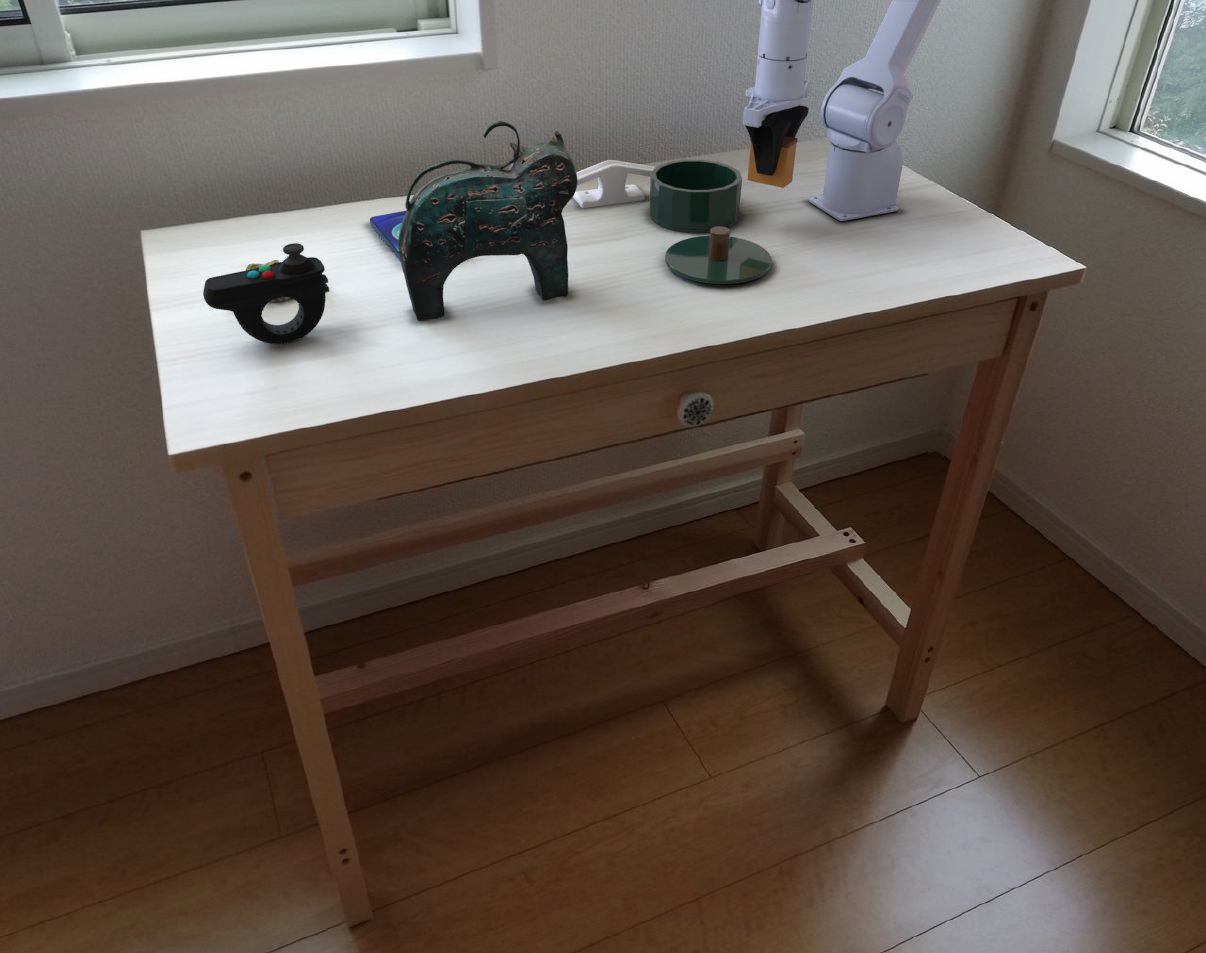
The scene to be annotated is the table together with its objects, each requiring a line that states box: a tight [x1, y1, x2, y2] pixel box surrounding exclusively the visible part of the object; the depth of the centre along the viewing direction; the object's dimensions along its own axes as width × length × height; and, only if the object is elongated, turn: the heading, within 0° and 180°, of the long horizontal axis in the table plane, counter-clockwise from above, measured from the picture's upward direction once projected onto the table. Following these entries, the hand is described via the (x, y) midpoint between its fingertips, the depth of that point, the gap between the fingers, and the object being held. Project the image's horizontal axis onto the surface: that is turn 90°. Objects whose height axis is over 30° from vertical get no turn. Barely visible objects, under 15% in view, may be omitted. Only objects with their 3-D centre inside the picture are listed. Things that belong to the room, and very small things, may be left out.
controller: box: [202, 242, 330, 345], centre depth 103 cm, size 4×12×10 cm, turn 117°
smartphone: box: [369, 210, 406, 262], centre depth 127 cm, size 8×1×15 cm
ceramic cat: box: [398, 120, 578, 321], centre depth 107 cm, size 20×6×20 cm, turn 110°
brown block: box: [747, 136, 799, 189], centre depth 124 cm, size 5×3×5 cm, turn 57°
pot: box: [649, 159, 743, 234], centre depth 132 cm, size 12×12×6 cm
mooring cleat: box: [572, 159, 657, 209], centre depth 137 cm, size 4×20×5 cm, turn 109°
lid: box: [664, 227, 773, 285], centre depth 120 cm, size 13×13×4 cm
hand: (770, 169), depth 124 cm, fingers closed on brown block, 2 cm apart
